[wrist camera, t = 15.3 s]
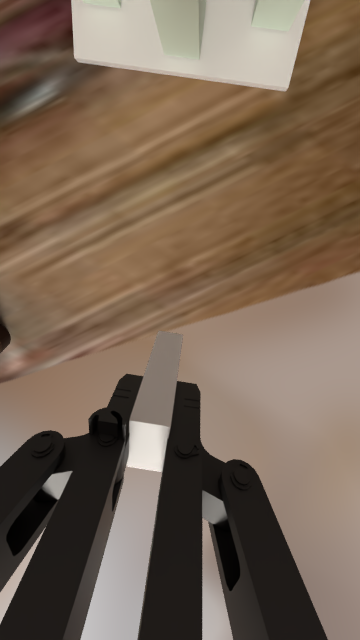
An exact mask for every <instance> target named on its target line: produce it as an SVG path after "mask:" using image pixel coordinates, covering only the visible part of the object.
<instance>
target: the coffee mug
mask: <svg viewBox="0 0 360 640" xmlns="http://www.w3.org/2000/svg"><path fill="white" fill-rule="evenodd" d="M10 340H11V338H10V334H9V332H8V331H7V330H6V328H5V327H4V326H2V325H1V324H0V353H1V352H2V351H3V350H4V349H5V348H6V347H7V346H8V345H9V344H10Z"/></svg>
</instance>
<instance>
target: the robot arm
mask: <svg viewBox="0 0 360 640" xmlns="http://www.w3.org/2000/svg"><path fill="white" fill-rule="evenodd" d="M182 339H183V334H177V333H170V332H164V331H158V334H157V337H156V340H155V343H154V346H153V349H152V352H151V355H150V358H149V361H148V364H147V368H146V371H145V374H144V376H137V375H131V374H126V375H125V376H123V378H121V379H120V380H119V382H118V384H117V386H116V389H115V391H114V393H113V396H112V397H111V400H110V402H109V404H108V406H107V408H103V409H99V410H97V411H96V412H94V413H93V414H92V415H91V417H90V418H89V433H88V434H85V435H82V436H78V437H70V438H63V436H62V435H61V434H60V433H58V432H56V431H51V430H50V431H43V432H41V433H38V434H36V435H34V436H32V437H31V438H30V439H28V440H27V441H26V442H25V443H24V444H23V445H22V446H21V447H20V448H19V449H18V450H17V451H16V452H15V453H14V454H13V455H12V456H11V457H10V458H9V459H8V460H7V461H6V462H5V463H4V464H3V465H2V466H0V592H1V590H2V589H3V588H4V586H5V585H6V583H7V582H8V580H9V579H10V577H11V576H12V575H13V573H14V572H15V570H16V569H17V567H18V566H19V564H20V563H21V562H22V560H23V559H24V557H25V556H26V554H27V553H28V551H29V550H30V549H31V547H32V546H33V544H34V543H35V541H36V540H37V538H38V537H39V536H40V534H41V533H42V531H43V530H44V528H45V527H46V529H45V530H44V532H43V535H42V537H41V539H40V541H39V543H38V545H37V547H36V549H35V552H34V554H33V556H32V558H31V560H30V562H29V565H28V567H27V569H26V571H25V573H24V575H23V577H22V579H21V581H20V583H19V586H18V588H17V590H16V592H15V594H14V596H13V598H12V600H11V603H10V605H9V607H8V609H7V611H6V613H5V616H4V617H3V620H2V622H1V624H0V640H80V638H81V635H82V631H83V627H84V624H85V620H86V617H87V613H88V609H89V606H90V602H91V598H92V595H93V591H94V588H95V584H96V580H97V577H98V573H99V569H100V566H101V562H102V558H103V555H104V551H105V547H106V543H107V540H108V536H109V532H110V529H111V525H112V522H113V518H114V514H115V510H116V507H117V503H118V499H119V496H120V492H121V489H122V485H123V479H124V471H125V468H126V464H127V467H134V468H140V469H146V470H152V471H158V472H162V477H161V484H160V490H159V496H158V504H157V511H156V518H155V525H154V531H153V538H152V545H151V552H150V558H149V566H148V572H147V579H146V585H145V592H144V600H143V606H142V613H141V619H140V626H139V633H138V640H202V518H204V519H205V520H207V521H208V522H209V527H210V532H211V537H212V542H213V546H214V551H215V556H216V560H217V565H218V570H219V574H220V579H221V584H222V588H223V593H224V598H225V602H226V607H227V612H228V616H229V621H230V626H231V630H232V635H233V640H328V639H327V637H326V634H325V632H324V630H323V627H322V625H321V622H320V620H319V618H318V616H317V613H316V611H315V608H314V606H313V603H312V601H311V599H310V596H309V594H308V592H307V589H306V587H305V585H304V582H303V580H302V578H301V575H300V573H299V570H298V568H297V566H296V563H295V561H294V559H293V556H292V554H291V551H290V549H289V547H288V545H287V542H286V540H285V537H284V535H283V533H282V530H281V528H280V525H279V523H278V521H277V518H276V516H275V514H274V511H273V509H272V507H271V504H270V502H269V499H268V497H267V495H266V492H265V490H264V488H263V485H262V483H261V481H260V478H259V476H258V474H257V473H256V471H255V470H254V468H252V467H251V466H250V465H249V464H248V463H246V462H244V461H242V460H235V459H233V460H230V461H228V462H227V463H225V462H223V461H221V460H219V459H217V458H215V457H213V456H212V455H210V454H209V453H208V452H207V451H206V450H205V449H204V447H203V446H202V443H201V440H200V391H199V389H198V386H197V384H192V383H186V382H179V381H177V376H178V369H179V361H180V354H181V347H182Z"/></svg>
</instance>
